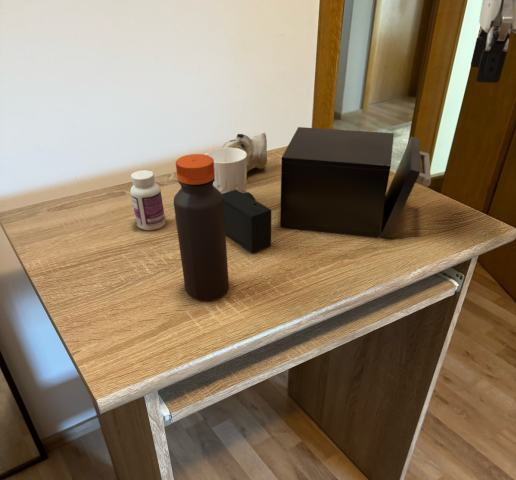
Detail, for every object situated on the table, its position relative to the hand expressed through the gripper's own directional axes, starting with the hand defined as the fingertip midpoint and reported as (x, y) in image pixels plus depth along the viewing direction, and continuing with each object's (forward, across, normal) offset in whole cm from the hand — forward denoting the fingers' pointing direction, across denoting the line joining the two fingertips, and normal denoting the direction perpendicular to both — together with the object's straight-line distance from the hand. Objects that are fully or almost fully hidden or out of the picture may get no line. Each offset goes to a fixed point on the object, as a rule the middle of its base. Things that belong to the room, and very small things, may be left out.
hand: (483, 73), depth 75 cm
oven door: (+25, -1, +10) cm, 27 cm away
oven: (+24, -2, +21) cm, 32 cm away
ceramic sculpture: (+24, +13, +44) cm, 52 cm away
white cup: (+24, -3, +42) cm, 49 cm away
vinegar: (+24, -32, +37) cm, 54 cm away
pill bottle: (+24, -14, +54) cm, 61 cm away
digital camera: (+24, -15, +35) cm, 45 cm away
